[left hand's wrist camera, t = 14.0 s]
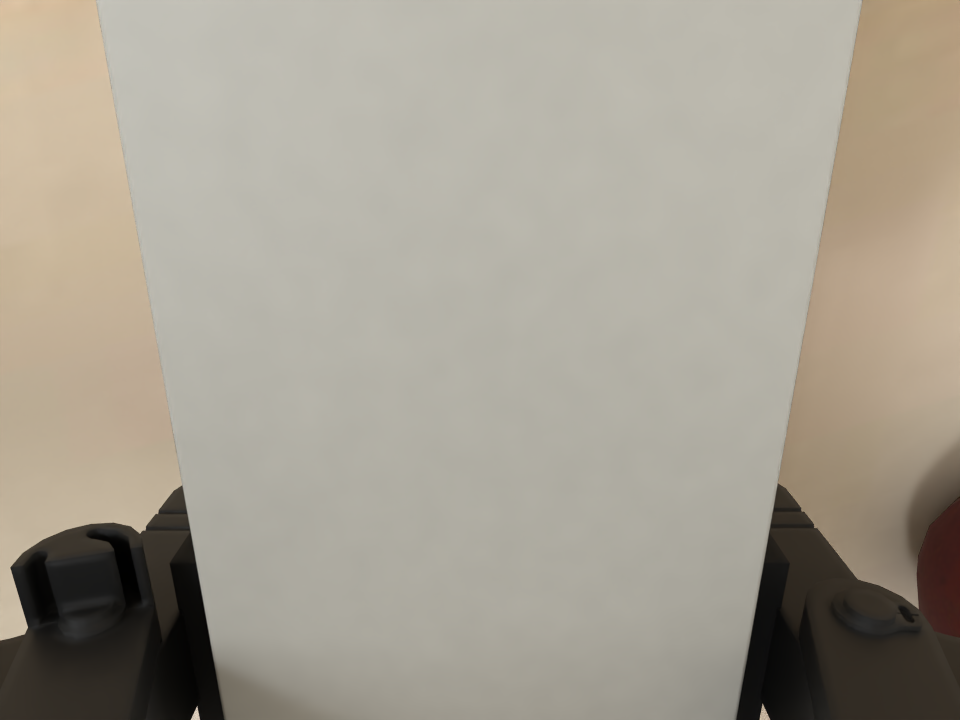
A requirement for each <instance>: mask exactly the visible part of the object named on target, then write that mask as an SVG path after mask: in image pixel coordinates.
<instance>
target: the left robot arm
mask: <svg viewBox="0 0 960 720" xmlns="http://www.w3.org/2000/svg"><path fill="white" fill-rule="evenodd" d="M10 568H11V571H12V575H13V578H14V581H15V585H16V588H17V591H18V595H19V598H20V601H21V605H22V608H23V611H24V615H25V618H26V622H27V625H28V629H27V631H26V633H25V635H21V636H18V637H14V638H10V639H6V640H1V641H0V720H191V718H192V716H193V714H194V711H195V709H196V707H197V706H198V711H199V716H200V720H224V715H223V709H222V704H221V698H220V692H219V687H218V681H217V676H216V670H215V664H214V659H213V653H212V648H211V642H210V636H209V631H208V625H207V620H206V614H205V608H204V603H203V597H202V592H201V586H200V580H199V575H198V569H197V564H196V558H195V552H194V547H193V541H192V536H191V530H190V524H189V519H188V513H187V508H186V502H185V496H184V491H183V485H182V486H181V487H179V488H178V489H176V490H175V491H173V493H172V494H171V495H170V497H169V498H168V499H167V500H166V502H165V503H164V504H163V506H162V507H161V508H160V509H159V514H155V516H154V517H153V518H152V520H151V521H150V522H149V523H148V525H147V526H146V531H142V532H141V534H139V533H138V532H137V531H136V530H134V529H133V528H132V527H130V526H126V525H121V524H116V523H101V524H89V525H85V526H81V527H77V528H72V529H68V530H65V531H63V532H60V533H58V534H56V535H53V536H51V537H48V538H46V539H44V540H42V541H40V542H39V543H37V544H36V545H34V546H33V547H31V548H30V549H28V550H27V551H25V552H24V553H23V554H22V555H21V556H20V557H19V558H18V559H17V560H16V562H15V563H14V564H13V565H12V566H11V567H10ZM762 703H763V705H764V707H765V709H766V711H767V714H768V716H769V718H770V720H960V638H959V637H954V636H949V635H946V634H942V633H939V632H935V631H934V630H933V628H932V626H931V625H930V623H929V622H928V621H927V619H926V618H925V616H924V615H923V614H922V612H921V611H920V610H919V609H917V608H916V607H915V606H913V605H912V604H911V603H909V602H908V601H907V600H906V599H904V598H903V597H902V596H899V595H897V594H895V593H893V592H891V591H889V590H887V589H885V588H883V587H881V586H878V585H875V584H871V583H867V582H864V581H860V580H858V579H857V578H856V577H855V576H854V574H853V573H852V572H851V571H850V569H849V568H848V567H847V566H846V564H845V563H844V562H843V560H842V559H841V558H840V557H839V555H838V554H837V553H836V552H835V550H834V549H833V548H832V547H831V545H830V544H829V543H828V541H827V540H826V539H825V538H824V536H823V535H822V534H821V533H820V531H819V530H818V529H817V528H814V524H813V522H812V521H811V520H810V519H809V517H808V516H807V515H806V514H805V512H801V507H800V506H799V505H798V503H797V502H796V501H795V500H794V498H793V497H792V496H791V495H790V493H789V492H788V491H787V490H786V488H784V487H783V486H781V485H779V484H777V490H776V496H775V501H774V507H773V513H772V518H771V524H770V530H769V535H768V541H767V547H766V552H765V558H764V564H763V570H762V575H761V581H760V587H759V592H758V598H757V604H756V609H755V615H754V621H753V626H752V632H751V638H750V643H749V649H748V655H747V661H746V666H745V672H744V678H743V683H742V689H741V695H740V700H739V706H738V712H737V717H736V720H759V719H760V713H761V708H762Z"/></svg>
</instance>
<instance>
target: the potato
mask: <svg viewBox="0 0 960 720" xmlns="http://www.w3.org/2000/svg"><path fill="white" fill-rule="evenodd" d="M917 586H918V601H919V610H920V611H921V612H922V614H923V615H924V616H925V618H926V619H927V621H928V622H929V623H930V625H931V626H932V628H933V630H934V631H935V632H939V633H942V634H946V635H949V636H954V637H959V638H960V497H959V498H958V499H957V500H956V501H955V502H954V503H953V504H951V505H950V506H949V507H948V508H947V509H946V510H945V511H944V512H943V513H942V514H941V515H940V516H939V517H938V518H937V519H936V520H935V521H934V522H933V523H932V524H931V525H930V526H929V529H928V532H927V534H926V537H925V540H924V542H923V545H922V548H921V550H920V553H919V556H918V566H917Z"/></svg>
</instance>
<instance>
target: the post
mask: <svg viewBox="0 0 960 720" xmlns="http://www.w3.org/2000/svg"><path fill="white" fill-rule="evenodd" d="M862 1H863V0H96V3H97V9H98V15H99V20H100V26H101V31H102V37H103V43H104V48H105V54H106V59H107V65H108V71H109V76H110V82H111V87H112V93H113V99H114V104H115V110H116V115H117V121H118V127H119V132H120V138H121V143H122V149H123V155H124V160H125V166H126V171H127V177H128V183H129V188H130V194H131V199H132V205H133V211H134V216H135V222H136V227H137V233H138V239H139V244H140V250H141V255H142V261H143V267H144V272H145V278H146V283H147V289H148V295H149V300H150V306H151V311H152V317H153V323H154V328H155V334H156V340H157V345H158V351H159V356H160V362H161V368H162V373H163V379H164V384H165V390H166V396H167V401H168V407H169V412H170V418H171V424H172V429H173V435H174V440H175V446H176V452H177V457H178V463H179V468H180V474H181V480H182V485H183V491H184V496H185V502H186V508H187V513H188V519H189V524H190V530H191V536H192V541H193V547H194V552H195V558H196V564H197V569H198V575H199V580H200V586H201V592H202V597H203V603H204V608H205V614H206V620H207V625H208V631H209V636H210V642H211V648H212V653H213V659H214V664H215V670H216V676H217V681H218V687H219V692H220V698H221V704H222V709H223V715H224V720H736V717H737V712H738V706H739V700H740V695H741V689H742V683H743V678H744V672H745V666H746V661H747V655H748V649H749V643H750V638H751V632H752V626H753V621H754V615H755V609H756V604H757V598H758V592H759V587H760V581H761V575H762V570H763V564H764V558H765V552H766V547H767V541H768V535H769V530H770V524H771V518H772V513H773V507H774V501H775V496H776V490H777V484H778V479H779V473H780V467H781V461H782V456H783V450H784V444H785V439H786V433H787V427H788V422H789V416H790V410H791V405H792V399H793V393H794V387H795V382H796V376H797V370H798V365H799V359H800V353H801V348H802V342H803V336H804V331H805V325H806V319H807V314H808V308H809V302H810V296H811V291H812V285H813V279H814V274H815V268H816V262H817V257H818V251H819V245H820V240H821V234H822V228H823V222H824V217H825V211H826V205H827V200H828V194H829V188H830V183H831V177H832V171H833V166H834V160H835V154H836V149H837V143H838V137H839V131H840V126H841V120H842V114H843V109H844V103H845V97H846V92H847V86H848V80H849V75H850V69H851V63H852V57H853V52H854V46H855V40H856V35H857V29H858V23H859V18H860V12H861V6H862Z"/></svg>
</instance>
